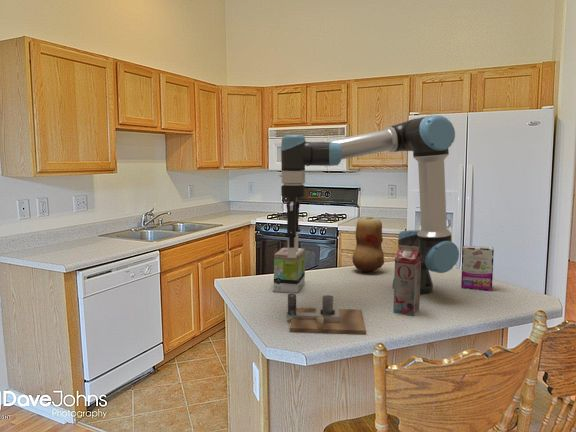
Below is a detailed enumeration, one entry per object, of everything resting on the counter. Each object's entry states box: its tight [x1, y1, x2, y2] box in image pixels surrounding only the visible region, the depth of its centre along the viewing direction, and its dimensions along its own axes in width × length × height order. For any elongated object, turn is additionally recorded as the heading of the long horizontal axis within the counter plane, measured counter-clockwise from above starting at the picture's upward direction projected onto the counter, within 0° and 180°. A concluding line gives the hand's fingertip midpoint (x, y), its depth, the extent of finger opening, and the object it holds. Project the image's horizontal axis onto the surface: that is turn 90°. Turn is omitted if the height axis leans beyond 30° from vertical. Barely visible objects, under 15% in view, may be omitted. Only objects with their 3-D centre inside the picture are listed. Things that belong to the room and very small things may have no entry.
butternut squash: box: [352, 216, 385, 273], centre depth 194 cm, size 14×13×25 cm
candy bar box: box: [460, 245, 495, 292], centre depth 169 cm, size 11×5×16 cm, turn 68°
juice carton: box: [392, 245, 421, 317], centre depth 142 cm, size 7×7×22 cm
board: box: [288, 294, 367, 335], centre depth 133 cm, size 22×18×8 cm
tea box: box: [273, 247, 306, 294], centre depth 171 cm, size 15×10×15 cm
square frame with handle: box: [286, 293, 340, 323], centre depth 134 cm, size 16×7×7 cm, turn 85°
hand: (293, 254), depth 140 cm, fingers open, 8 cm apart
